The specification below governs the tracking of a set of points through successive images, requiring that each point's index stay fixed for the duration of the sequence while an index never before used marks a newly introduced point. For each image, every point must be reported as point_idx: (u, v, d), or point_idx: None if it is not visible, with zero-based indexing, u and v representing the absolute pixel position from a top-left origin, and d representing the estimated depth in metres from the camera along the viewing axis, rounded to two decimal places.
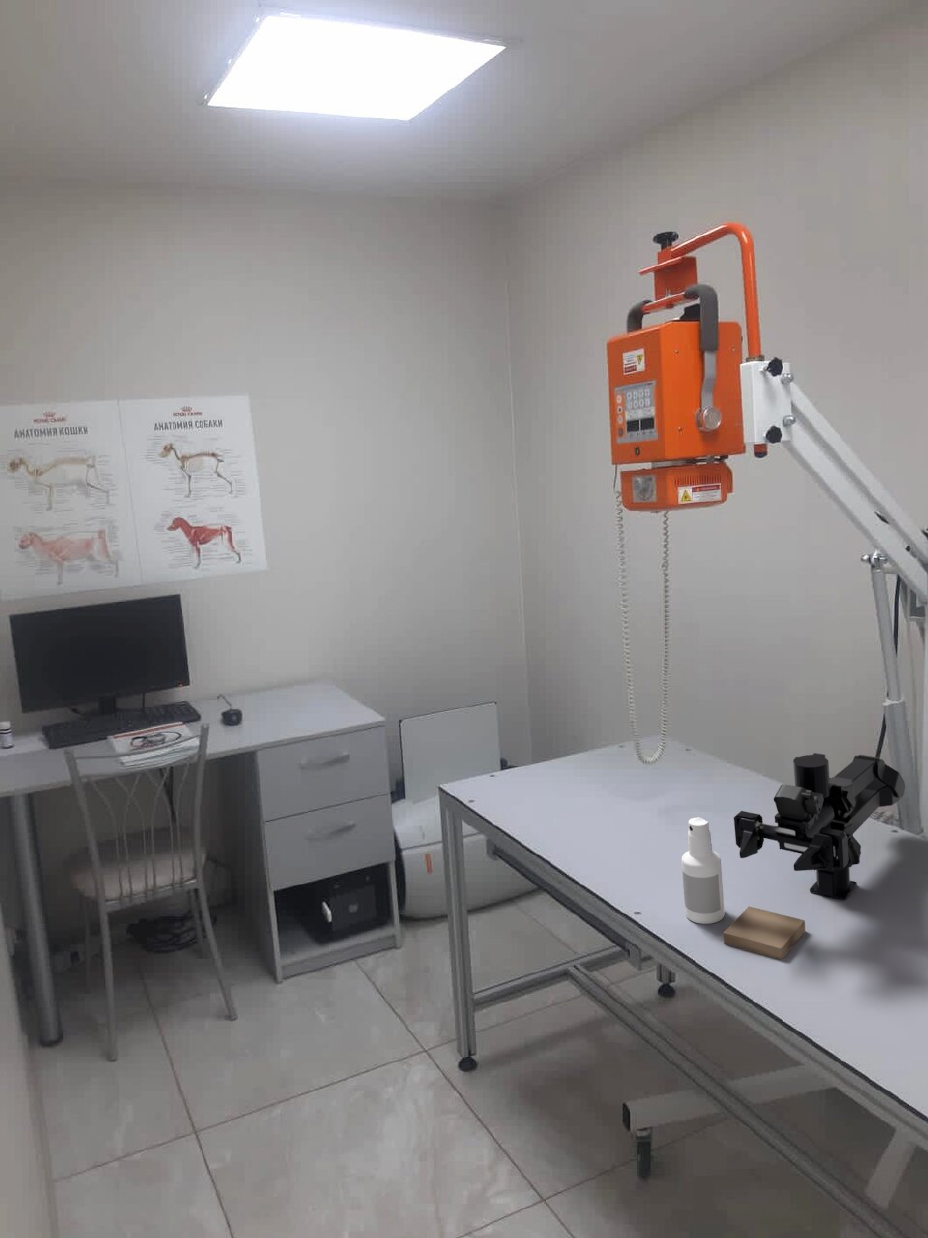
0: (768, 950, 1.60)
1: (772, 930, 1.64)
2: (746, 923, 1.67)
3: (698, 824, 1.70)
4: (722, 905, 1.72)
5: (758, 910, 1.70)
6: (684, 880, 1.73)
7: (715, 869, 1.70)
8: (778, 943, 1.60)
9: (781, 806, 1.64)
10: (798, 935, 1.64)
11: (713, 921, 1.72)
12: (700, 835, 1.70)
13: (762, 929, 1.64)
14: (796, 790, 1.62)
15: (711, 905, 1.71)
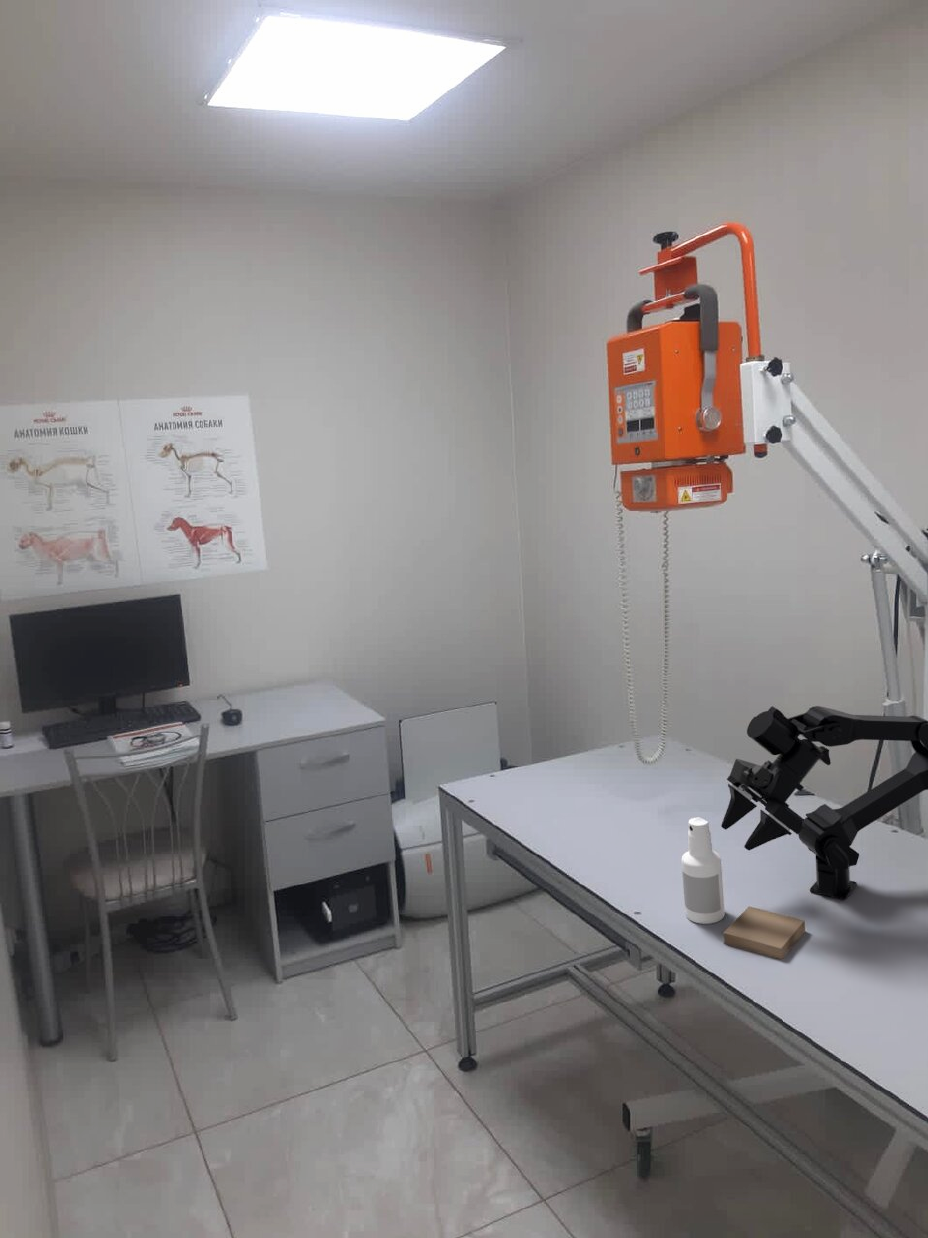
0: (768, 950, 1.60)
1: (772, 930, 1.64)
2: (746, 923, 1.67)
3: (698, 824, 1.70)
4: (722, 905, 1.72)
5: (758, 910, 1.70)
6: (684, 880, 1.73)
7: (715, 869, 1.70)
8: (778, 943, 1.60)
9: None
10: (798, 935, 1.64)
11: (713, 921, 1.72)
12: (700, 835, 1.70)
13: (762, 929, 1.64)
14: (740, 769, 1.70)
15: (711, 905, 1.71)
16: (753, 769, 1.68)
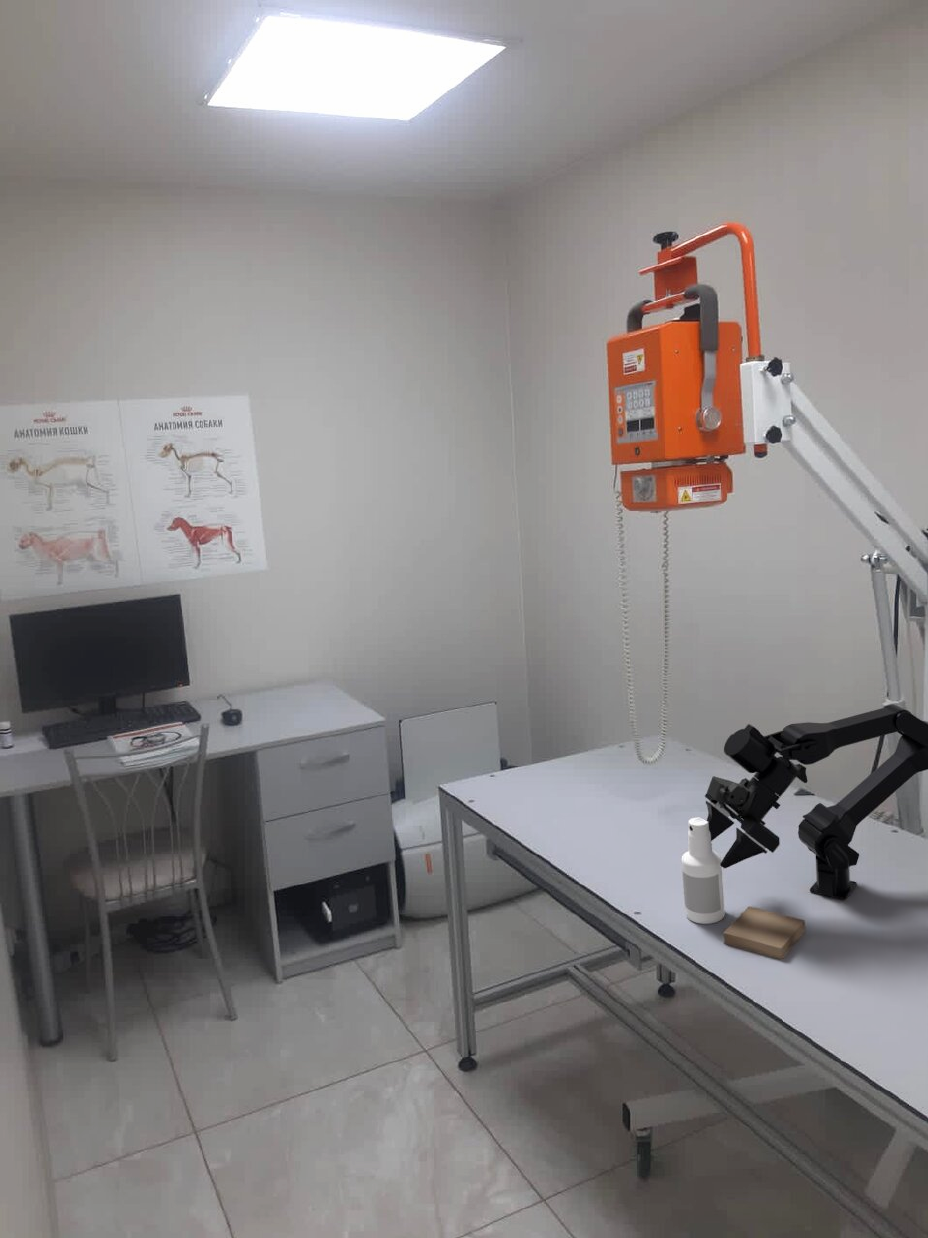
0: (768, 950, 1.60)
1: (772, 930, 1.64)
2: (746, 923, 1.67)
3: (698, 824, 1.70)
4: (722, 905, 1.72)
5: (758, 910, 1.70)
6: (684, 880, 1.73)
7: (715, 869, 1.70)
8: (778, 943, 1.60)
9: None
10: (798, 935, 1.64)
11: (713, 921, 1.72)
12: (700, 835, 1.70)
13: (762, 929, 1.64)
14: (716, 786, 1.70)
15: (711, 905, 1.71)
16: (729, 787, 1.68)
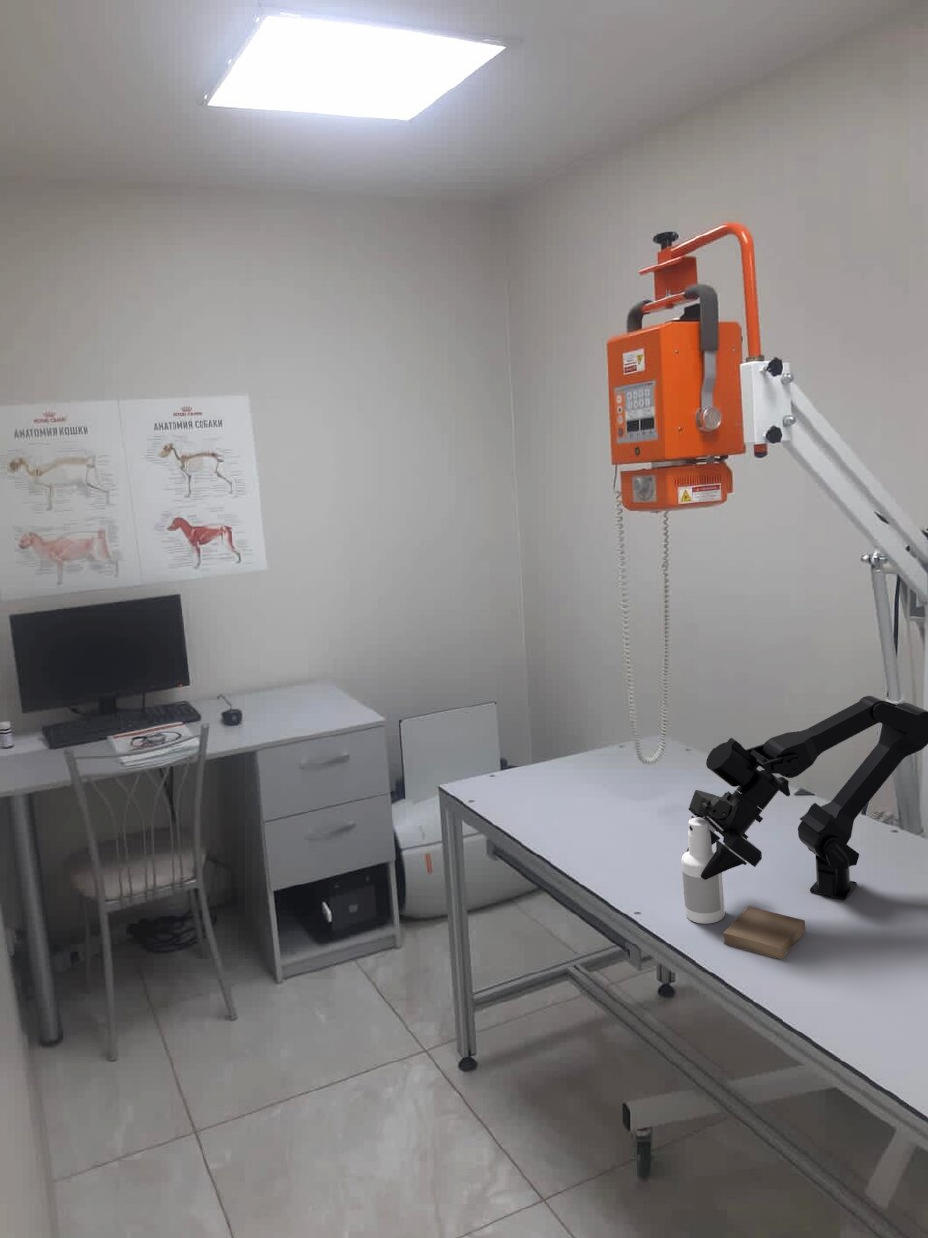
0: (768, 950, 1.60)
1: (772, 930, 1.64)
2: (746, 923, 1.67)
3: (698, 824, 1.70)
4: (722, 905, 1.72)
5: (758, 910, 1.70)
6: (684, 880, 1.73)
7: None
8: (778, 943, 1.60)
9: None
10: (798, 935, 1.64)
11: (713, 921, 1.72)
12: (700, 835, 1.70)
13: (762, 929, 1.64)
14: (699, 800, 1.70)
15: (711, 905, 1.71)
16: (711, 801, 1.68)
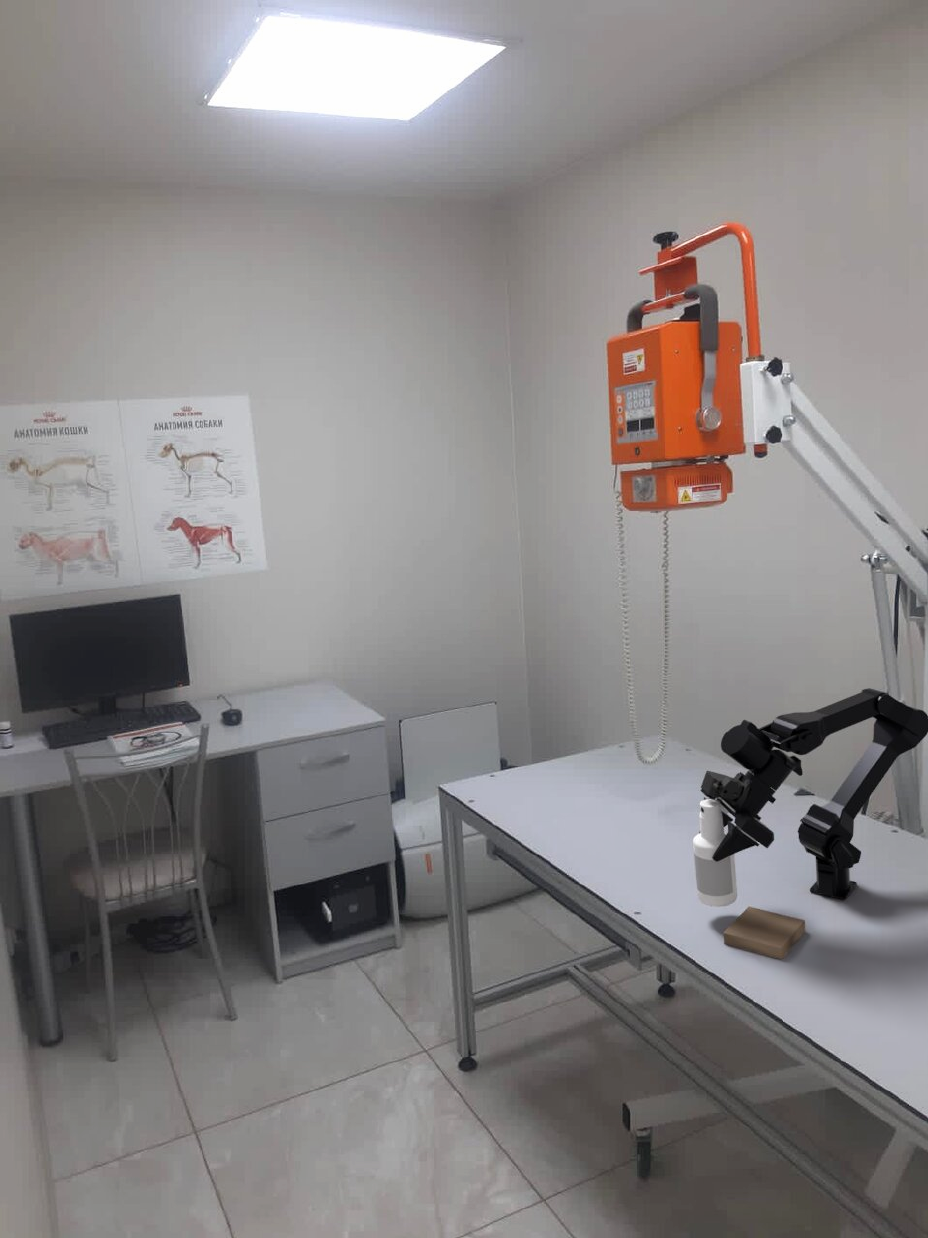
0: (768, 950, 1.60)
1: (772, 930, 1.64)
2: (746, 923, 1.67)
3: (709, 806, 1.67)
4: (734, 888, 1.70)
5: (758, 910, 1.70)
6: (696, 862, 1.70)
7: None
8: (778, 943, 1.60)
9: None
10: (798, 935, 1.64)
11: (725, 904, 1.69)
12: (711, 817, 1.67)
13: (762, 929, 1.64)
14: (710, 781, 1.67)
15: (723, 888, 1.68)
16: (722, 782, 1.65)
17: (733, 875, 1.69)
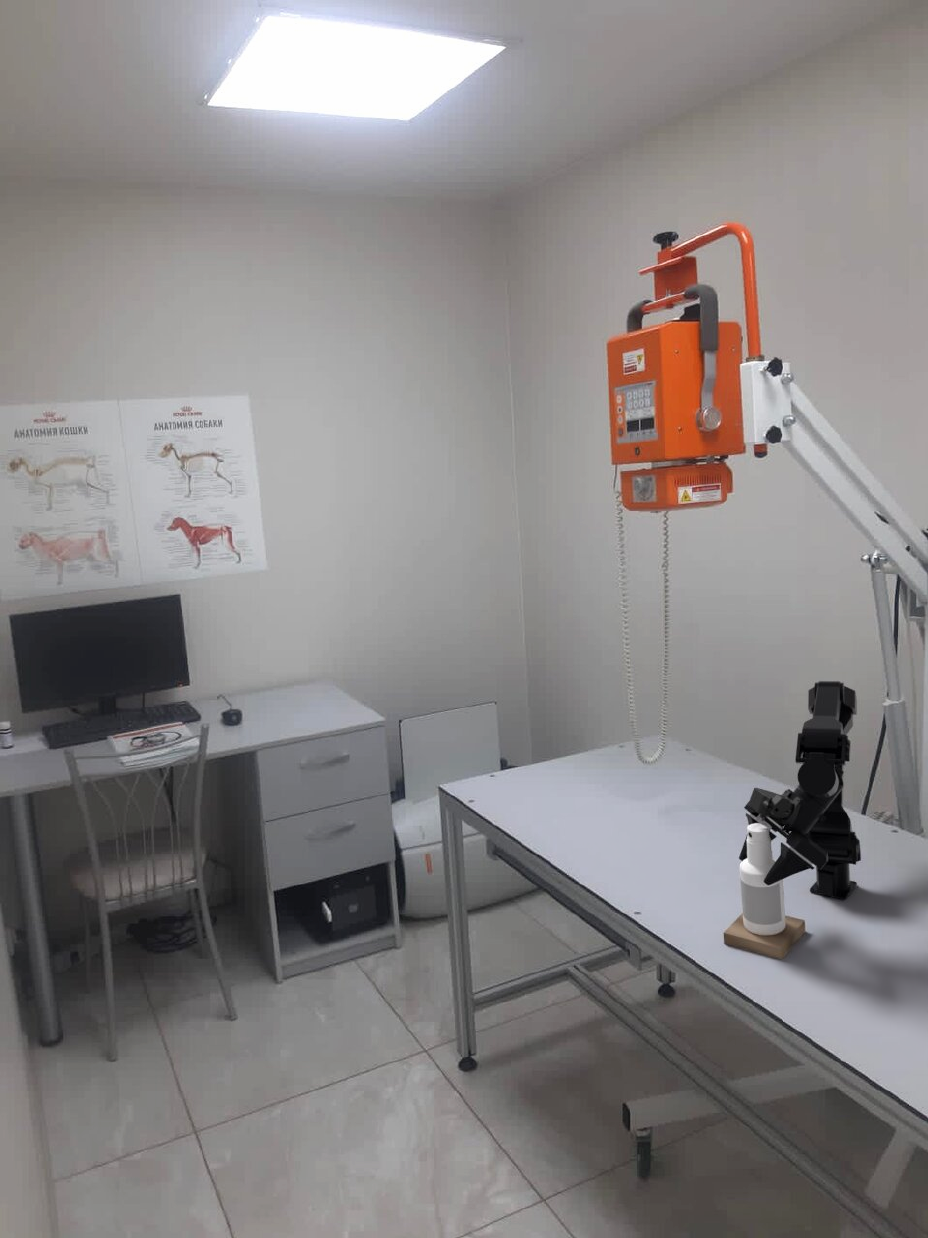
0: (768, 950, 1.60)
1: None
2: None
3: (758, 830, 1.60)
4: (783, 916, 1.63)
5: None
6: (742, 889, 1.63)
7: None
8: (778, 943, 1.60)
9: None
10: (798, 935, 1.64)
11: (774, 933, 1.62)
12: (760, 842, 1.60)
13: None
14: (759, 799, 1.60)
15: (772, 916, 1.61)
16: (773, 799, 1.58)
17: (782, 903, 1.62)
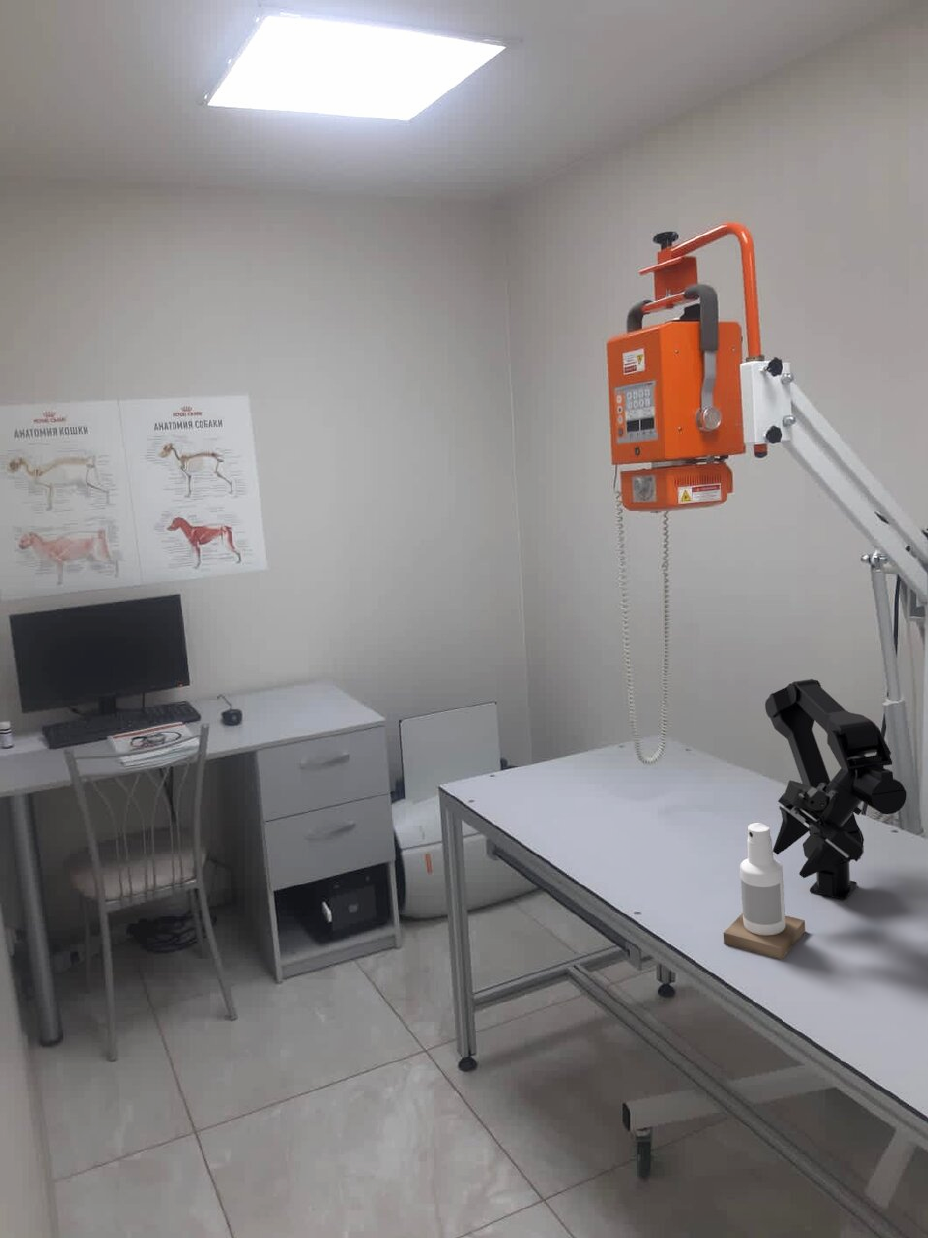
0: (768, 950, 1.60)
1: None
2: None
3: (759, 830, 1.60)
4: (783, 916, 1.63)
5: None
6: (743, 889, 1.63)
7: (776, 878, 1.60)
8: (778, 943, 1.60)
9: None
10: (798, 935, 1.64)
11: (774, 933, 1.62)
12: (761, 842, 1.60)
13: None
14: (794, 791, 1.61)
15: (772, 916, 1.61)
16: (809, 792, 1.59)
17: (782, 903, 1.62)
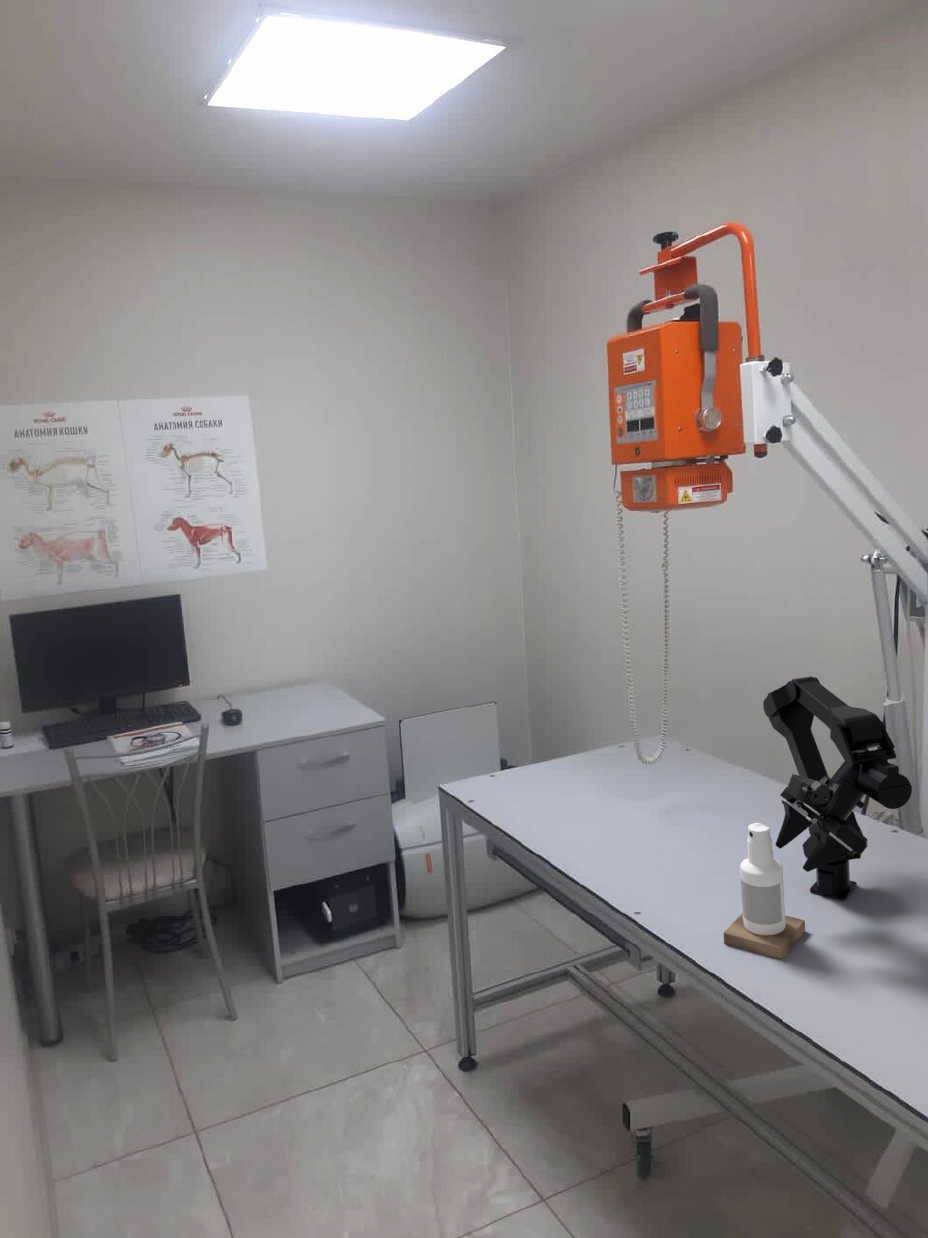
0: (768, 950, 1.60)
1: None
2: None
3: (759, 830, 1.60)
4: (783, 916, 1.63)
5: None
6: (743, 889, 1.63)
7: (776, 878, 1.60)
8: (778, 943, 1.60)
9: None
10: (798, 935, 1.64)
11: (774, 933, 1.62)
12: (761, 842, 1.60)
13: None
14: (797, 785, 1.60)
15: (772, 916, 1.61)
16: (812, 785, 1.58)
17: (782, 903, 1.62)
